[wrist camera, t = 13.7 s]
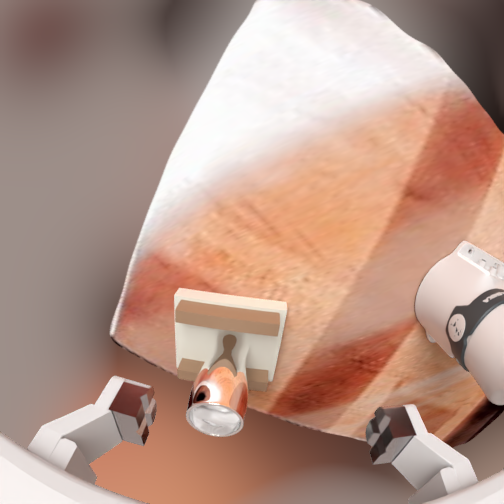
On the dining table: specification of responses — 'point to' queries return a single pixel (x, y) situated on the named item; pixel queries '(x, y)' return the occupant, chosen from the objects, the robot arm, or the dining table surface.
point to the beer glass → (221, 387)
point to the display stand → (231, 319)
